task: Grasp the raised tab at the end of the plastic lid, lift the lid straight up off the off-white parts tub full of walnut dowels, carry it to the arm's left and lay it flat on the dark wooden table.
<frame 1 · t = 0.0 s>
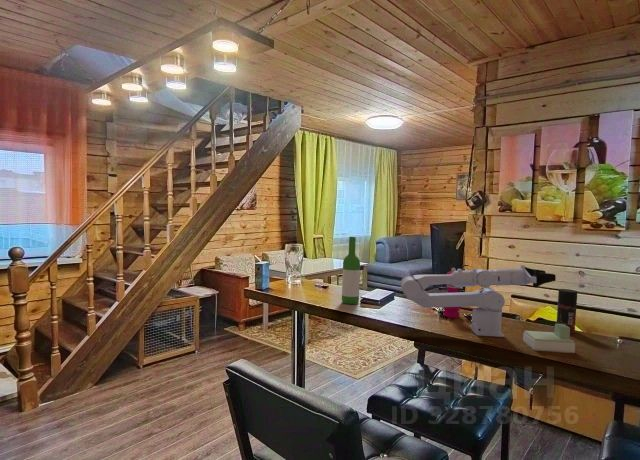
hand: (550, 275, 140), 22 cm above the table, tool horizontal, fingers open, 7 cm apart
deodorant: (565, 330, 150), on the table
pepper mill: (451, 316, 165), on the table
lid: (548, 337, 130), point 3 cm above the table, touching tub
tub: (547, 346, 130), on the table
wine bottle: (350, 303, 183), on the table
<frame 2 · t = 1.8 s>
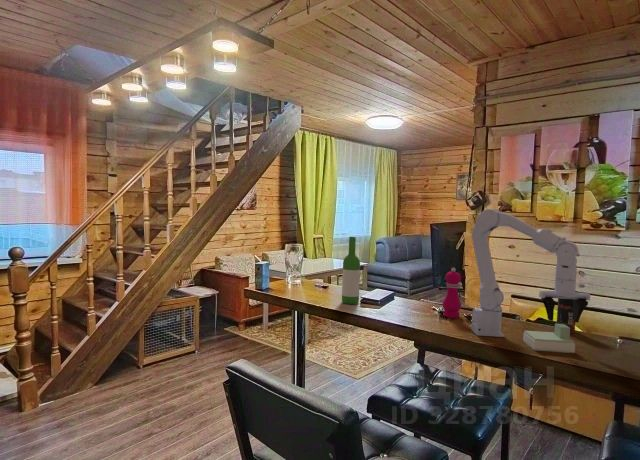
hand: (562, 320, 129), 9 cm above the table, tool pointing down, fingers open, 7 cm apart
nothing on the table moved.
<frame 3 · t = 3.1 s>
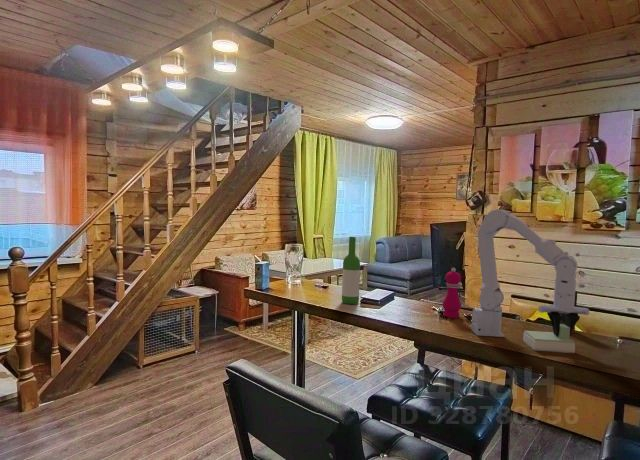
hand: (561, 335, 130), 4 cm above the table, tool pointing down, fingers closed on lid, 3 cm apart
lid: (548, 337, 130), point 3 cm above the table, touching gripper, tub
everything else where it was.
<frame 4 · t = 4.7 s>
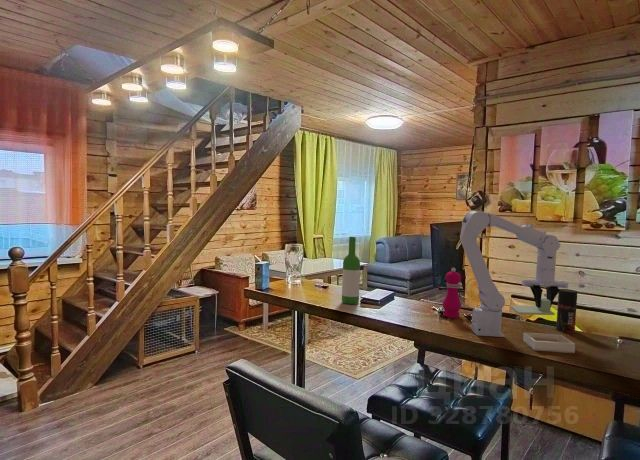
hand: (543, 307, 141), 10 cm above the table, tool pointing down, fingers closed on lid, 3 cm apart
lid: (531, 311, 141), point 9 cm above the table, touching gripper
everything else where it was.
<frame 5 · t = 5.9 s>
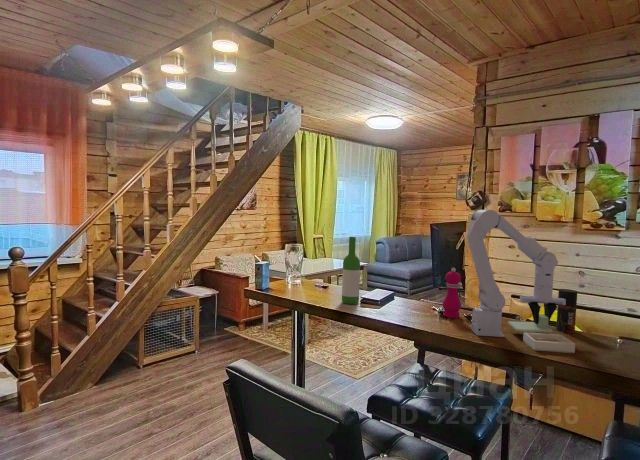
hand: (541, 323, 142), 4 cm above the table, tool pointing down, fingers closed on lid, 3 cm apart
lid: (529, 327, 142), point 3 cm above the table, touching gripper
everything else where it was.
when the fingers open (2 cm above the table, at t = 6.7 s): lid drops 1 cm, on the table.
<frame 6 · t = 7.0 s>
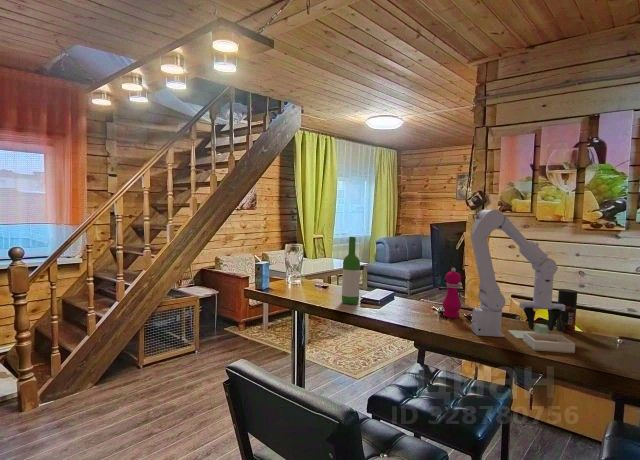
hand: (540, 329, 142), 2 cm above the table, tool pointing down, fingers open, 6 cm apart
lid: (529, 336, 142), on the table
everything else where it was.
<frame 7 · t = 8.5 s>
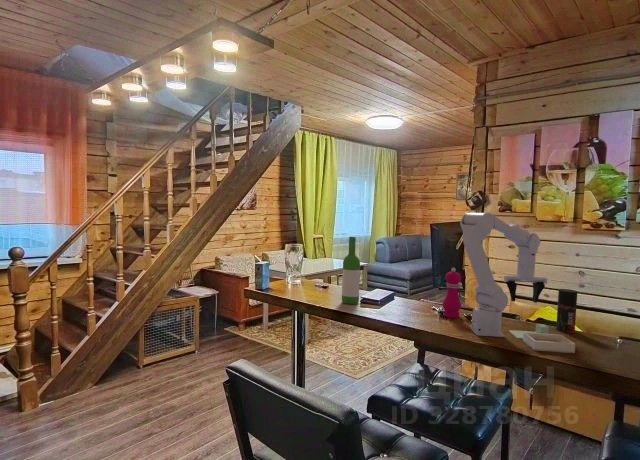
hand: (523, 301, 149), 10 cm above the table, tool pointing down, fingers open, 7 cm apart
nothing on the table moved.
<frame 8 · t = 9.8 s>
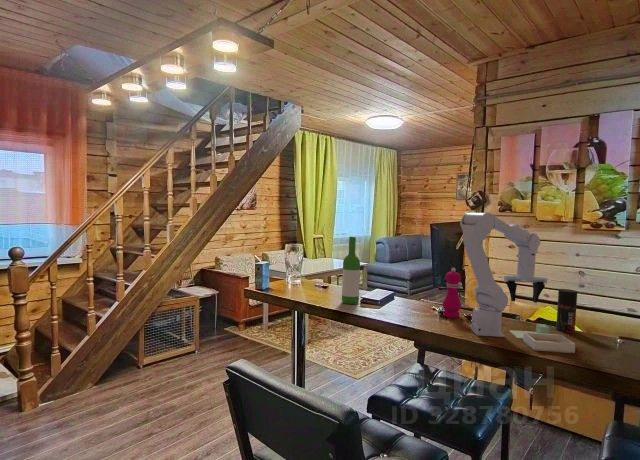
hand: (523, 301, 149), 10 cm above the table, tool pointing down, fingers open, 7 cm apart
nothing on the table moved.
at the end: lid inside the target area (1.0 cm from its centre), on the table; lid tilted 0°; lid touching table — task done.
